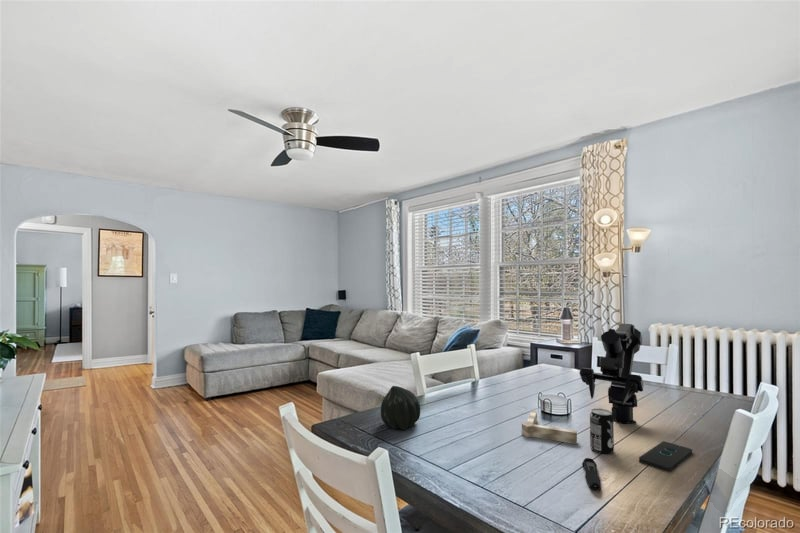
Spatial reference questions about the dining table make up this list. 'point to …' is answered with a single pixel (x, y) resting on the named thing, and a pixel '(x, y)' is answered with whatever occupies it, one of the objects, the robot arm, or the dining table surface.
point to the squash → (400, 408)
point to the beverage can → (601, 431)
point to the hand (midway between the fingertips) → (606, 400)
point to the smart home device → (665, 456)
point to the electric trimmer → (591, 474)
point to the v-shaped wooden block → (547, 431)
